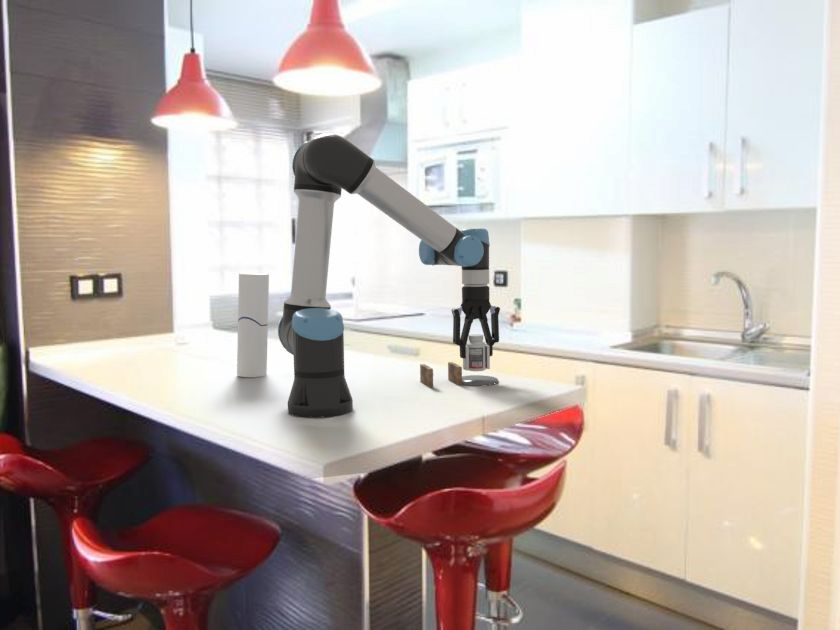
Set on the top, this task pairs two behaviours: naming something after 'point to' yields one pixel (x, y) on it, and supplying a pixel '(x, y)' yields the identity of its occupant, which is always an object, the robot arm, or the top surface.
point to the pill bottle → (477, 353)
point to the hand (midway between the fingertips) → (476, 368)
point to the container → (252, 324)
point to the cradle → (453, 374)
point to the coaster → (478, 380)
